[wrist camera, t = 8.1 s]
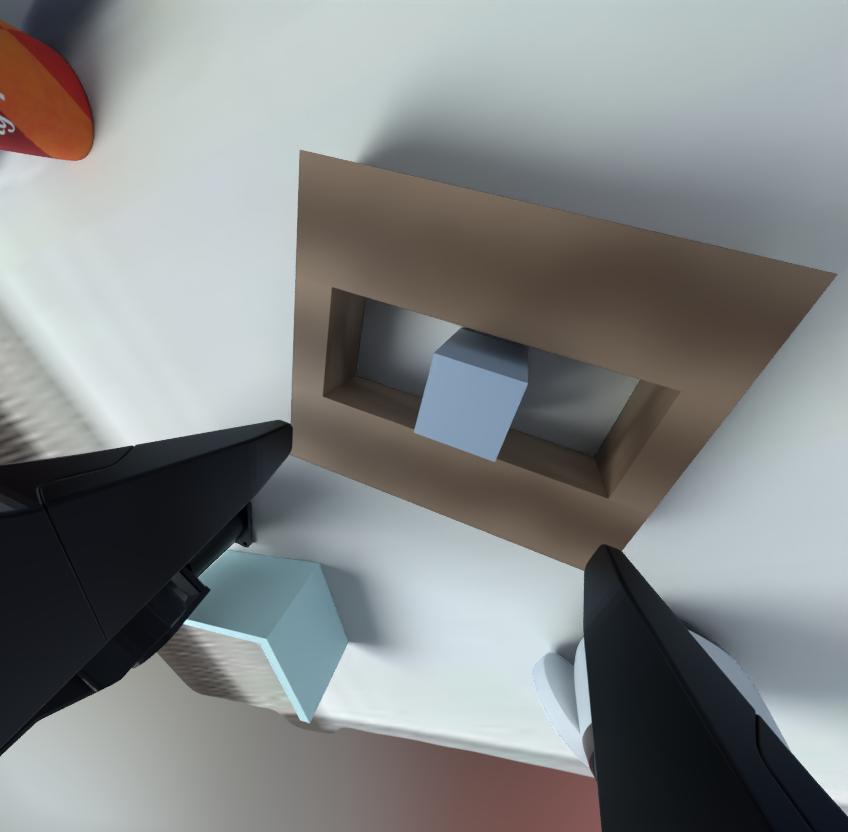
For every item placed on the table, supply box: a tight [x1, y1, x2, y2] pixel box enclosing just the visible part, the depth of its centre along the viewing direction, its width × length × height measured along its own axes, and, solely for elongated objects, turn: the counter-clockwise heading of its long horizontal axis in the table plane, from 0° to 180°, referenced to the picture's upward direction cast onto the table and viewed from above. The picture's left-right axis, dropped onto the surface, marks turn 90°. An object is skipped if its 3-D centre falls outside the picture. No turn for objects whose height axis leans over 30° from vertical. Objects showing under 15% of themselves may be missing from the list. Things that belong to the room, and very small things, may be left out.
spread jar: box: [533, 618, 790, 782], centre depth 20 cm, size 12×11×12 cm
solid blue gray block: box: [414, 328, 528, 462], centre depth 17 cm, size 4×4×6 cm
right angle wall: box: [183, 550, 348, 723], centre depth 33 cm, size 12×12×8 cm
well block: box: [290, 150, 837, 571], centre depth 18 cm, size 16×20×4 cm
